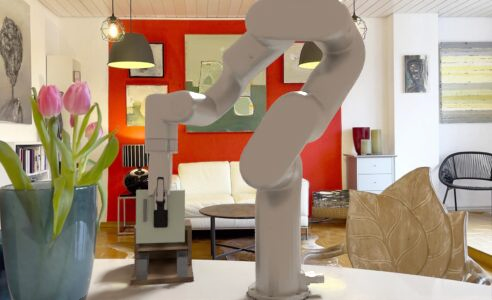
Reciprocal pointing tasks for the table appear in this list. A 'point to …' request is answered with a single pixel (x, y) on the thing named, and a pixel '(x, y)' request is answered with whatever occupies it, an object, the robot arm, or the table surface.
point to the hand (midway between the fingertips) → (160, 225)
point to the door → (146, 218)
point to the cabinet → (164, 259)
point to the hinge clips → (143, 265)
